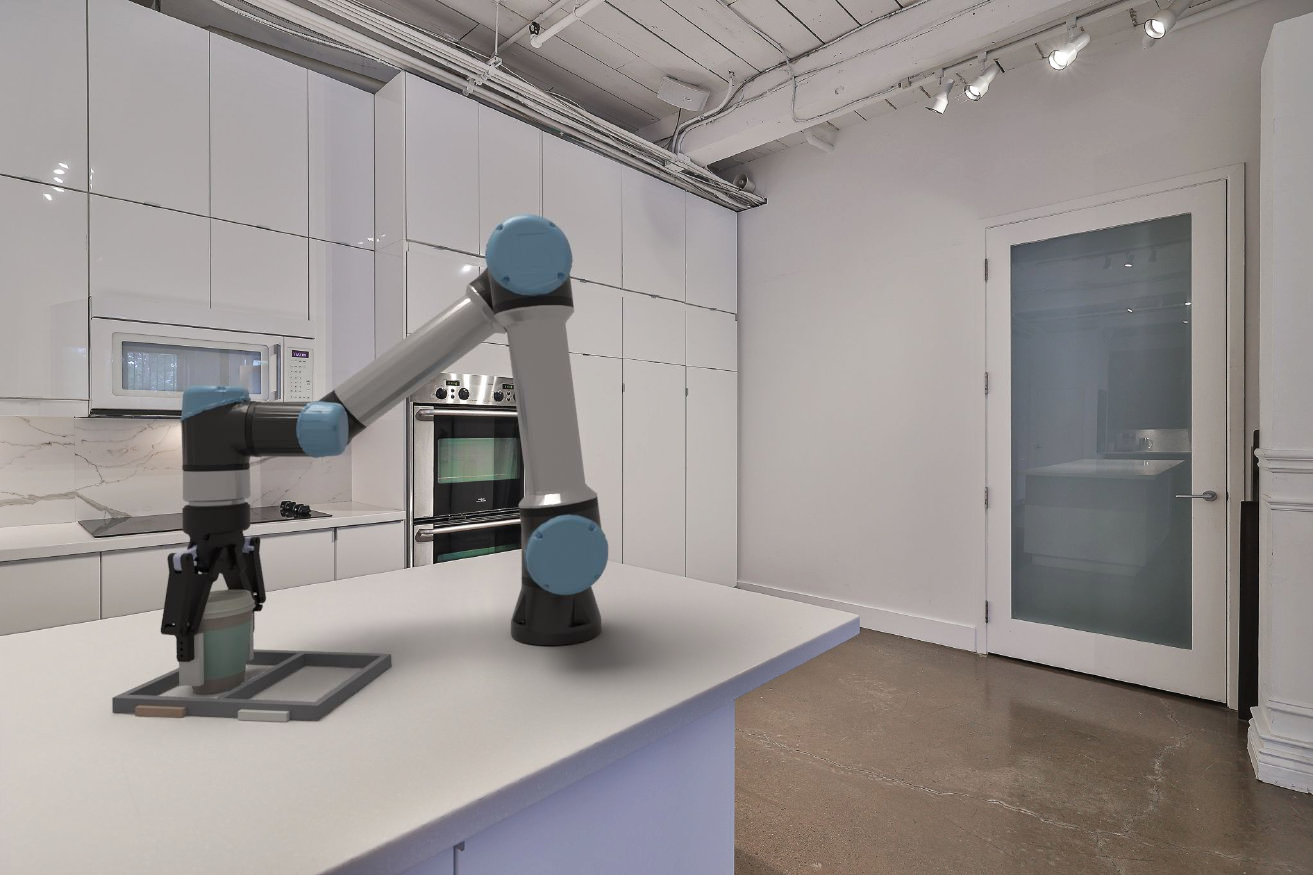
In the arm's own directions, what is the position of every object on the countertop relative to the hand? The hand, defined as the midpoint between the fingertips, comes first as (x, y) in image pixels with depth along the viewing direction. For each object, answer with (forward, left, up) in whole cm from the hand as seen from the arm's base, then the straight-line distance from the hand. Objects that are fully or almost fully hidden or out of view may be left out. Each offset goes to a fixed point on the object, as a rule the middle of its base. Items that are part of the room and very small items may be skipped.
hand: (218, 671), depth 89 cm
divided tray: (-6, 0, -2) cm, 7 cm away
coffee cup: (0, 0, -2) cm, 2 cm away
